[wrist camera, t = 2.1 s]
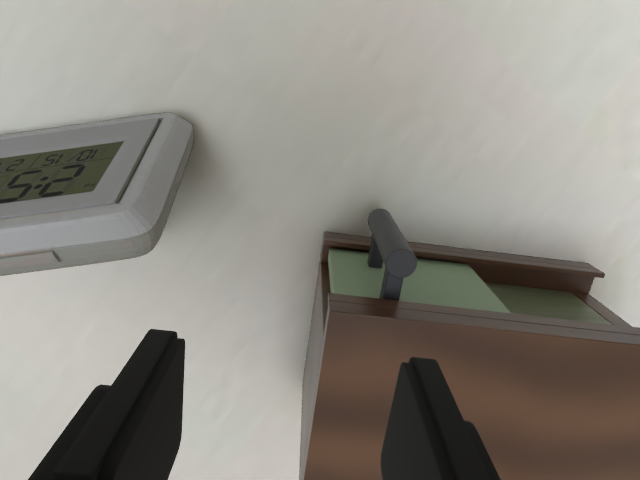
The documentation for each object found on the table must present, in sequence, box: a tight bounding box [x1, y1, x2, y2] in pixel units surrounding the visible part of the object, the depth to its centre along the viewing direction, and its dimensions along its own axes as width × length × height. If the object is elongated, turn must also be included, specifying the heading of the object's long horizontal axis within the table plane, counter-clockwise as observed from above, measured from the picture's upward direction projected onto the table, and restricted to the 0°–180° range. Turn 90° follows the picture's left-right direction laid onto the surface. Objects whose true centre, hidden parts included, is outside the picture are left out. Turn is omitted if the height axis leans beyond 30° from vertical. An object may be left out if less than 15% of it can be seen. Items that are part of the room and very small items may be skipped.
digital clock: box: [0, 113, 194, 276], centre depth 23 cm, size 16×9×11 cm, turn 86°
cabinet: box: [299, 232, 640, 480], centre depth 26 cm, size 12×18×11 cm, turn 83°
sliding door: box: [328, 209, 511, 313], centre depth 24 cm, size 4×9×8 cm, turn 83°
